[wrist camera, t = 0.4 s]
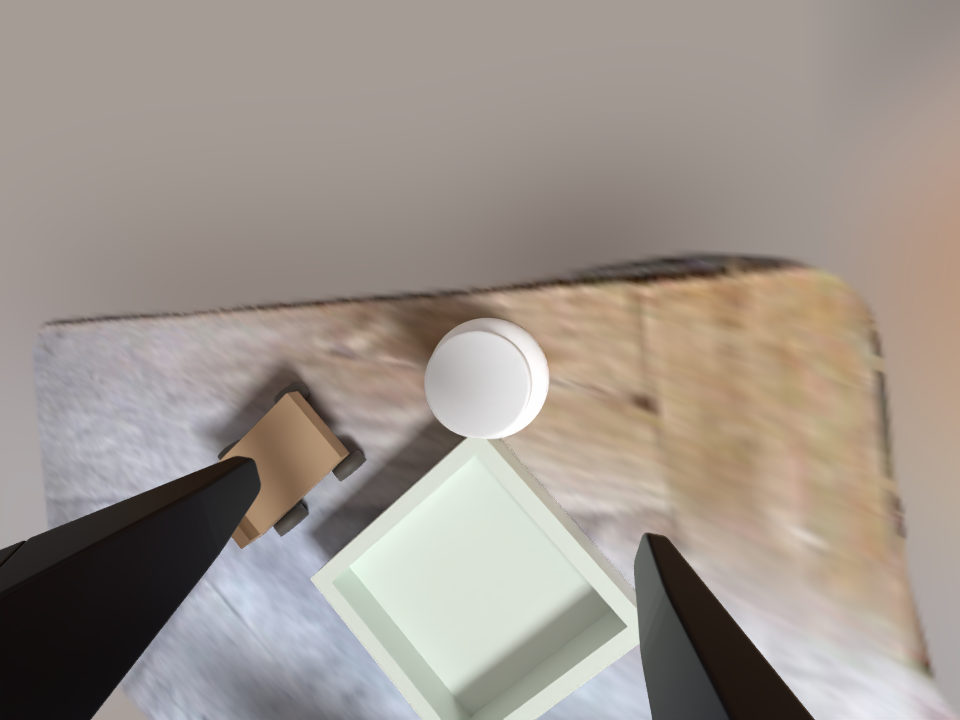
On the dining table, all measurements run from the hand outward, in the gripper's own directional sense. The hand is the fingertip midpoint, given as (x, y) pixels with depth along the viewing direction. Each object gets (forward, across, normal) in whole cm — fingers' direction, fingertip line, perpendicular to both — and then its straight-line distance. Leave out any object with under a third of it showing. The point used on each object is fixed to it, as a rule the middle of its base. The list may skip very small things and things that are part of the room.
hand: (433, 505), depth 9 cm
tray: (+10, 0, +16) cm, 19 cm away
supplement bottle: (+15, 0, +4) cm, 15 cm away
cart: (+12, +13, +11) cm, 21 cm away
